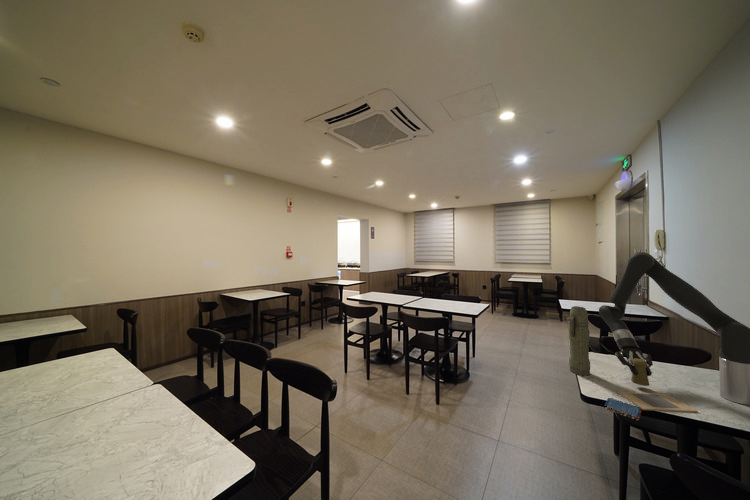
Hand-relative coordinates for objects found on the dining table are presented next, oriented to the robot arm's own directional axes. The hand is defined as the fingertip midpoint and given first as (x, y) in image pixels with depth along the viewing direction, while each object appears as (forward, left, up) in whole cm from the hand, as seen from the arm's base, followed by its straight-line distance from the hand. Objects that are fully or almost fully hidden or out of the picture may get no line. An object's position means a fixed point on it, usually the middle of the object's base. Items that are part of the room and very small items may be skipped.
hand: (642, 374), depth 122 cm
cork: (0, -2, -5) cm, 5 cm away
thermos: (+17, -17, -7) cm, 25 cm away
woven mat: (+22, +17, -8) cm, 29 cm away
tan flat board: (+4, +10, -7) cm, 13 cm away
